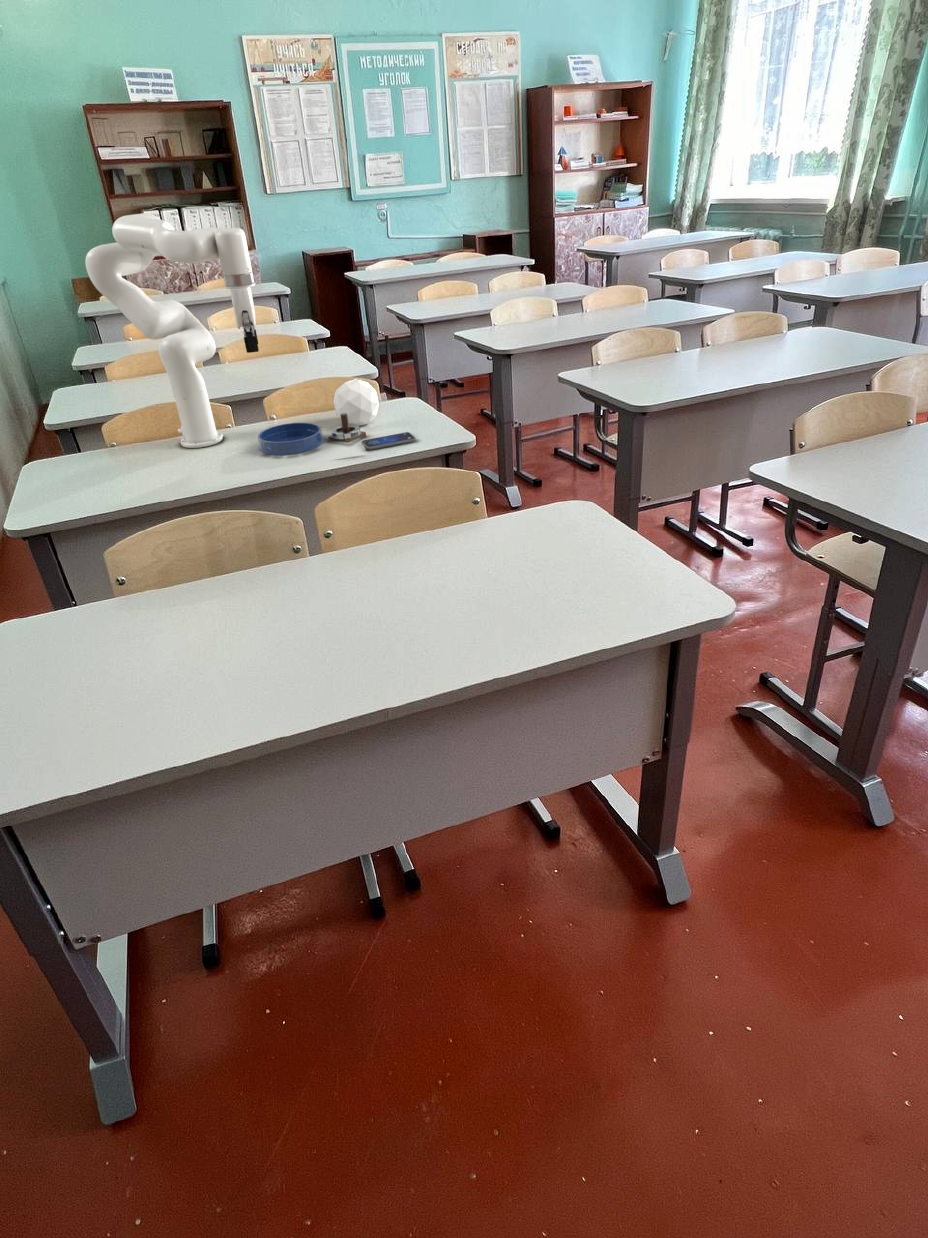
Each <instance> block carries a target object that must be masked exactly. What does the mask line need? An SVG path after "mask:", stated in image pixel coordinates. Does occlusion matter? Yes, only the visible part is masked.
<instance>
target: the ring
mask: <svg viewBox="0 0 928 1238" xmlns="http://www.w3.org/2000/svg"><path fill="white" fill-rule="evenodd" d="M349 429H350V432H346V433H342V432H343V429H342V425H340V426H335V427H334V428H332V429H331V430H330V433H331V435H332V437H333V438H335V439H351V438H355V437H357V436H359V435H360V434H361V431H362V430H361V426H356V425H350V424H349Z"/></svg>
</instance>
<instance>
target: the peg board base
mask: <svg viewBox="0 0 928 1238" xmlns="http://www.w3.org/2000/svg"><path fill="white" fill-rule="evenodd" d="M340 421H341V426H342V429H343V432H342V433H346V432H350V429H349V425H350V424H349V423H348V416H347V413H343V414H341V419H340ZM360 431H361V434H360V435H359V436H357V437H355V438H351V439H335V438H333V437H332V434H331V435H329V436H327V440H331V441H336V442H343V443H351V442H354V441H355V440H357V439H359V438H360V439H361V440H364V439H365V438H367V432H366V431H363V430H360Z"/></svg>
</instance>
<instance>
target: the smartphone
mask: <svg viewBox="0 0 928 1238" xmlns="http://www.w3.org/2000/svg"><path fill="white" fill-rule="evenodd" d="M416 441H417V438H416V437H415V436H414V435H413V434H412V433H411V432H409V431H404V432H400V433H395V434H390V435H384V436H378V437H374V438H373V437H372V438H368V439H362V440H361V442H360V443H361V444H362V445H363V446H364V448H365V449H366V450H368V451H372V450H377V449H382V448H388V447H392V446H398V445H403V444H408V443H414V442H416Z"/></svg>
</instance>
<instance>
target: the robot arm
mask: <svg viewBox="0 0 928 1238" xmlns="http://www.w3.org/2000/svg"><path fill="white" fill-rule="evenodd" d="M111 232H112V236H113V238H114V240H115V241H116V242H111V243H110V242H109V243H105V244H100V245H97V246H95V247H93V248H91V249H90V250H88V251H87V254H86V256H85V260H84V261H85V268H86V273H87V275H88V277H89V280H90V282H91V283H92V285H93V286H94V287H95V289H96V290H97V291H98V292H99V293H100V294H101V295H102V296H103V297H104V298H106V299H107V300H108V301H109V302H110V303H111V304H113V305H114V306H115V307H116V308H117V309H118V310H119V311H120V312H121V313H122V314H123V315H124V317H125V318H126V319H128V321H129V322H130V323H131V324H132V325H133V326H134V327H135V328H136V329H137V330H138V331H139V332H140V333H141V334H142V335H143V336H144V337H146V338H147V339H149V340H151V341H152V340H153V341H154V340H160V339H161V341H160V342H159V344H158V348H157V350H158V351H157V352H158V355H159V359H160V361H161V363H162V366H163V367H164V370H165V372H166V374H167V377H168V380H169V384H170V387H171V391H172V394H173V398H174V402H175V406H176V409H177V413H178V417H179V421H180V425H181V426H180V428H178V429H177V433H178V434H182V438H181V439H180V445H181V446H182V447H183V448H187V449H199V448H206V447H210V446H214V445H216V444H218V443H221V442H222V441H223V440H224V435H223V433H221V432H219V431H217V427H216V423H215V420H214V419H215V418H214V415H213V409H212V406H211V403H210V399H209V398H210V397H209V394H208V390H207V385H206V382H205V379H204V378H203V376H202V374H201V372H200V371H199V370H198V369H197V367H196V365H198V364H200V363H203V362H206V361H209V360H210V359H212V358H213V357H214V355H215V354H216V351H217V346H216V341H215V339H214V337H213V336H212V334H211V332H210V331H209V330H208V328H206V327H205V326H204V324H202V323H201V322H200V321H199V320H198V318H197V317H196V316H194V314H193V313H192V312H191V311H190V310H189V309H188V308H187V307H186V306H185V305H184V304H182V303H181V302H179V301H177V300H174V299H163V300H159V301H155V300H153V299H151V297H149V296H148V295H147V294H146V293H145V292H144V291H143V290H142V289H141V287H139V286H137V285H136V284H134V283H133V282H131V281H129V280H127V279H125V278H124V277H126V276H130V275H134V274H139V273H142V272H143V271H145V270H146V269H147V268H149V265H150V264H151V263H152V261H153V260H154V259H155V257H156V255H157V256H162V257H163V258H164V259H166V260H167V261H171V262H177V263H183V264H202V263H205V262H210V261H216V260H219V262H220V263H219V264H220V267H221V273H222V277H223V281H224V286H225V289H227V290H230V297H231V298H230V299H231V303H232V307H233V314H234V317H235V323H236V328H237V329H238V330H240V329H241V328H242V333H243V341H244V345H245V351H246V353H247V354H250V353H259V349H260V348H259V339H258V334H257V329H256V328H255V327H256V311H255V306H254V305H255V303H254V298H253V293H252V287H255V286H256V284H255V280H254V273H253V269H252V264H251V263H252V262H251V259H250V253H249V248H248V243H247V238H246V233H245V231H244V230H243V229H242V228H241V227H226V228H225V227H224V228H222V227H214V226H212V227H211V226H210V227H204V228H196V229H191V230H178V229H175V228H174V226H173V225H172V224H171V222H168V221H167V220H164V219H160V218H159V217H158V216H156V215H155V214H152V213H148V212H142V213H133V214H127V215H126V214H125V215H122V216H120V217H118V218H117V219H116V220H115V221H114V222H113V225H112V227H111Z"/></svg>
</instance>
